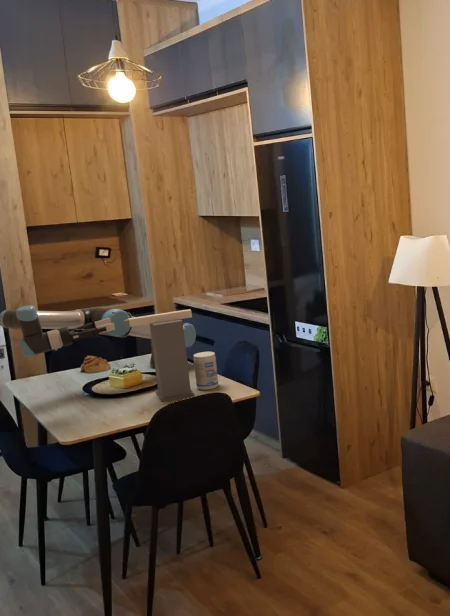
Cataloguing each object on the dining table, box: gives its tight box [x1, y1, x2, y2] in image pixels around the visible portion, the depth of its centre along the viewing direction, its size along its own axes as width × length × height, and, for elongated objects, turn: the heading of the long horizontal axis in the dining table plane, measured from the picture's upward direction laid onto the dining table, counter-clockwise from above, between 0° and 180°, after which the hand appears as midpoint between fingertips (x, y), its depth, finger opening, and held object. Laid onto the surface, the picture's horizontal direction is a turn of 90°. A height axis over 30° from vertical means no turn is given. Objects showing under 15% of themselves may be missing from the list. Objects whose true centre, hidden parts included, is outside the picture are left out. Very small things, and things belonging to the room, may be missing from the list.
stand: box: [150, 319, 195, 403], centre depth 271 cm, size 14×14×32 cm
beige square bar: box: [124, 308, 193, 327], centre depth 268 cm, size 3×28×3 cm, turn 105°
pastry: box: [80, 355, 112, 374], centre depth 329 cm, size 13×15×8 cm
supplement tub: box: [193, 351, 219, 391], centre depth 278 cm, size 10×10×15 cm
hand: (112, 323), depth 263 cm, fingers open, 13 cm apart
